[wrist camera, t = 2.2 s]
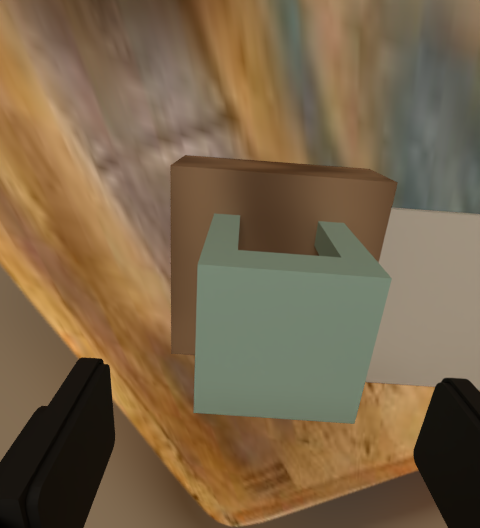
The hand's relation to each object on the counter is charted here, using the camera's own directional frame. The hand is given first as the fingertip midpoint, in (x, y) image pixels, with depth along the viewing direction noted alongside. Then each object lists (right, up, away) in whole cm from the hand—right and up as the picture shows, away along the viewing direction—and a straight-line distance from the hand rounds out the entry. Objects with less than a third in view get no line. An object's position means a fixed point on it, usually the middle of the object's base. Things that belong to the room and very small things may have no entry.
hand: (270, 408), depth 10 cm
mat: (+13, +1, +12) cm, 18 cm away
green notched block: (+1, +3, +7) cm, 8 cm away
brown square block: (+1, +5, +11) cm, 12 cm away
